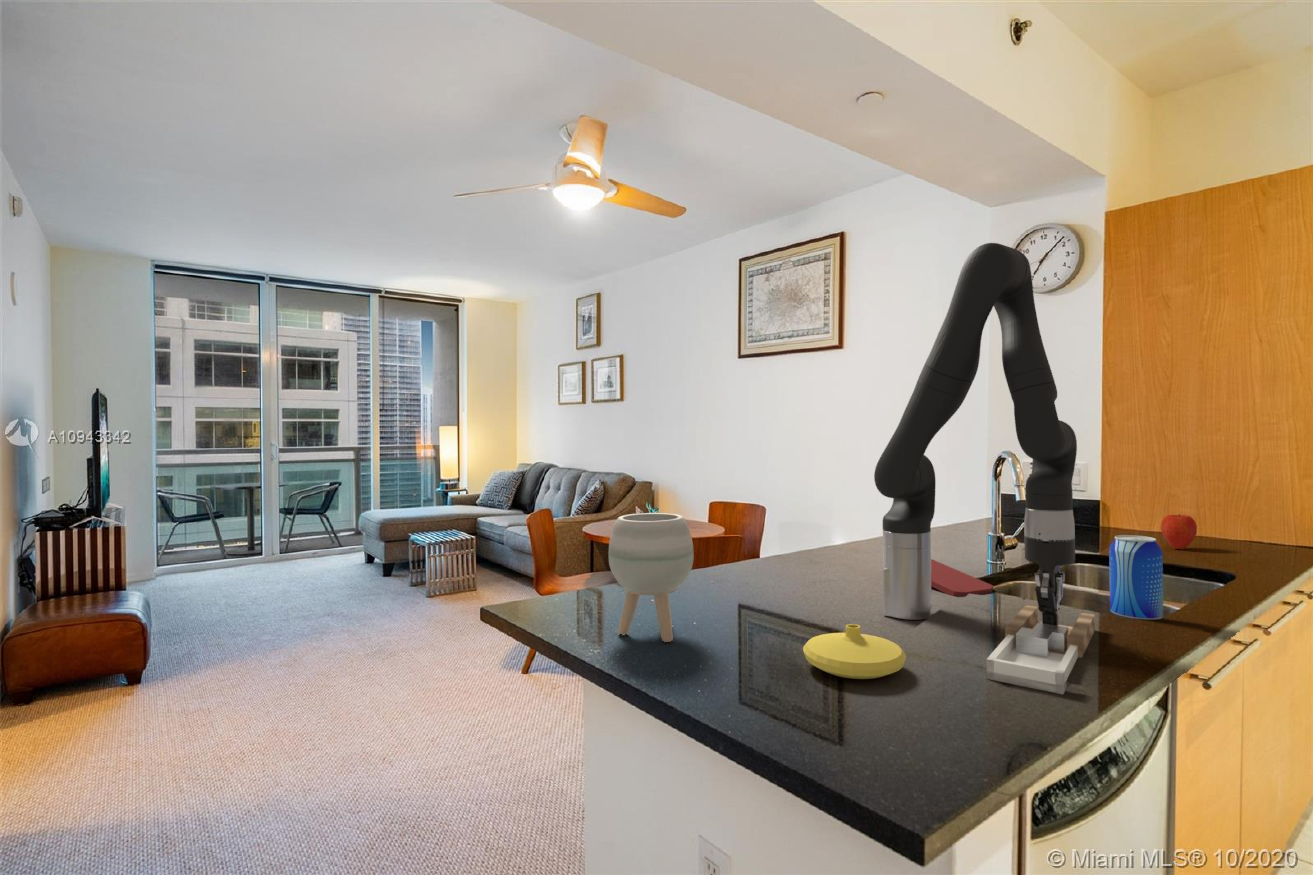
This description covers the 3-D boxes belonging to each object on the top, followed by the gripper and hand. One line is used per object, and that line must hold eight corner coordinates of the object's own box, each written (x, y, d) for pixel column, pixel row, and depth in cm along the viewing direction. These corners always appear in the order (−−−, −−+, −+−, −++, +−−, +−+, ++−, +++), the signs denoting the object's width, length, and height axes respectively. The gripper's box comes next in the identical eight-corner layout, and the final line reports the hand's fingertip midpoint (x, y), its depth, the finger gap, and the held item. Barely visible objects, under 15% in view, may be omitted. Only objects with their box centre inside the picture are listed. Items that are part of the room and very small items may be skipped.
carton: (995, 607, 152) (917, 571, 175) (998, 587, 151) (918, 553, 174) (956, 614, 148) (880, 575, 171) (958, 593, 147) (882, 557, 170)
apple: (1171, 551, 193) (1171, 515, 193) (1154, 546, 202) (1154, 511, 202) (1204, 552, 192) (1203, 515, 192) (1185, 547, 200) (1185, 511, 200)
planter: (592, 636, 124) (590, 518, 124) (650, 617, 136) (648, 509, 136) (654, 655, 113) (652, 525, 113) (712, 632, 125) (710, 515, 125)
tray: (1008, 651, 111) (1008, 634, 111) (1078, 664, 105) (1077, 645, 105) (986, 678, 100) (986, 659, 100) (1063, 694, 93) (1063, 673, 93)
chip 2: (1037, 640, 113) (1037, 622, 113) (1068, 644, 110) (1068, 627, 110) (1033, 646, 110) (1032, 629, 110) (1064, 652, 107) (1064, 633, 107)
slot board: (1025, 626, 125) (1025, 605, 125) (1094, 636, 118) (1094, 614, 118) (1005, 651, 111) (1005, 627, 111) (1081, 665, 104) (1081, 640, 104)
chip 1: (1021, 644, 111) (1021, 627, 111) (1052, 650, 108) (1052, 632, 108) (1016, 652, 107) (1015, 634, 107) (1047, 657, 105) (1047, 639, 105)
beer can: (1148, 628, 122) (1147, 542, 122) (1101, 617, 130) (1099, 536, 130) (1172, 621, 126) (1171, 538, 126) (1124, 611, 134) (1123, 533, 134)
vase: (795, 653, 113) (794, 612, 113) (888, 652, 112) (887, 611, 112) (813, 690, 97) (813, 642, 97) (921, 689, 96) (921, 641, 96)
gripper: (1031, 528, 121) (1032, 621, 121) (1017, 538, 111) (1018, 640, 111) (1079, 531, 116) (1080, 628, 117) (1069, 542, 106) (1070, 648, 106)
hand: (1050, 634), depth 114 cm, fingers closed
